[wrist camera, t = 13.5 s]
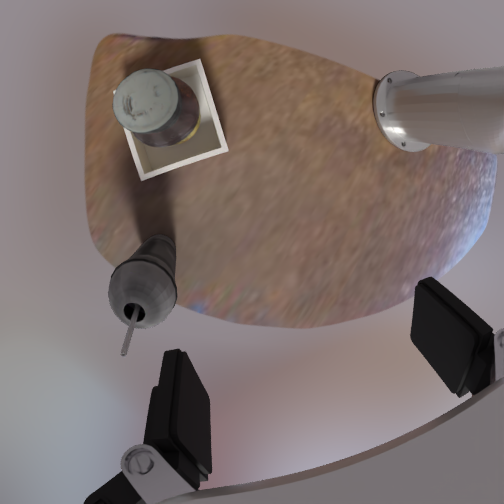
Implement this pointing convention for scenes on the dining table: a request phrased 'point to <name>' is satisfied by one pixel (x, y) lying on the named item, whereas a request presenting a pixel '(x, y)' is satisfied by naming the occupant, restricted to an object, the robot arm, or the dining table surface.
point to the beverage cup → (145, 286)
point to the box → (198, 146)
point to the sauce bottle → (157, 108)
